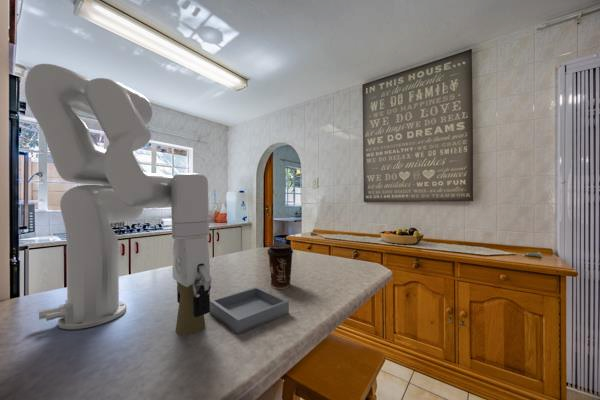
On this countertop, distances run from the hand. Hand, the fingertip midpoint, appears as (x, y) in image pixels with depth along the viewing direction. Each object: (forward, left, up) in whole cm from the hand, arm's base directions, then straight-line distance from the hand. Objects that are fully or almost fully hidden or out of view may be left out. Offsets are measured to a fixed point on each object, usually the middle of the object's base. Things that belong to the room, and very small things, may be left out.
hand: (192, 307), depth 55 cm
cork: (0, 0, -5) cm, 5 cm away
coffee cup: (+31, +7, -5) cm, 32 cm away
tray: (+13, -3, -4) cm, 14 cm away
